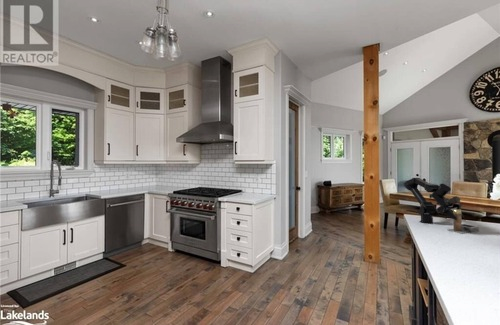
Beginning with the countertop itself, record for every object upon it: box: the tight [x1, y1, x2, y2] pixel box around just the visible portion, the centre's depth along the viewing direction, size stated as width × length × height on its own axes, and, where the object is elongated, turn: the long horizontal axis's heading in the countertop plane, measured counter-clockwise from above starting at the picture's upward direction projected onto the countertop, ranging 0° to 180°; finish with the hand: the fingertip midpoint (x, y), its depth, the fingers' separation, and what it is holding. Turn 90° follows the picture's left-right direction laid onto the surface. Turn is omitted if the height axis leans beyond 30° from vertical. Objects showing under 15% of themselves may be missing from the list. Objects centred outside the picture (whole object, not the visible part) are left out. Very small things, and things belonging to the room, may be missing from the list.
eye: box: [462, 223, 480, 234], centre depth 150 cm, size 8×8×3 cm
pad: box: [447, 228, 469, 235], centre depth 148 cm, size 8×7×1 cm
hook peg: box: [452, 209, 463, 232], centre depth 148 cm, size 4×4×14 cm
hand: (460, 218), depth 147 cm, fingers open, 7 cm apart
